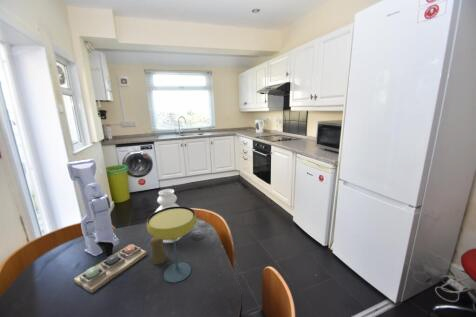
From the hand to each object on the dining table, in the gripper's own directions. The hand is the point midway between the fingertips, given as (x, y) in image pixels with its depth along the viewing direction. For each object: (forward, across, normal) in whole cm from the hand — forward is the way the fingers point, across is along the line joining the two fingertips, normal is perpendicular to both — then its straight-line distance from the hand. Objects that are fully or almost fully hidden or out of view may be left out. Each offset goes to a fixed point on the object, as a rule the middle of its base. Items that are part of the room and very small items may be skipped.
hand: (108, 255), depth 88 cm
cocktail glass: (+7, +27, +11) cm, 30 cm away
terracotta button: (+5, 0, +9) cm, 10 cm away
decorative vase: (+7, +5, +29) cm, 30 cm away
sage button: (+4, 0, -7) cm, 8 cm away
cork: (+7, +14, +13) cm, 20 cm away
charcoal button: (+4, 0, +1) cm, 4 cm away
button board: (+6, 0, +1) cm, 6 cm away
